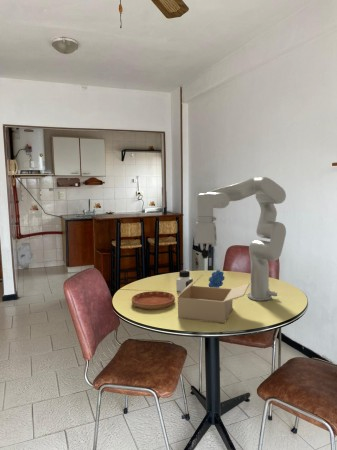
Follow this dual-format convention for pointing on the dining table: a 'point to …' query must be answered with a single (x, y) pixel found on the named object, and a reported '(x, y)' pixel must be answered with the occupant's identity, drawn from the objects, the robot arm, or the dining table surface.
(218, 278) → the grapes
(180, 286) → the medicine bottle
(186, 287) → the far flap
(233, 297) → the near flap
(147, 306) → the saucer
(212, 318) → the carton
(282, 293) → the dining table surface
